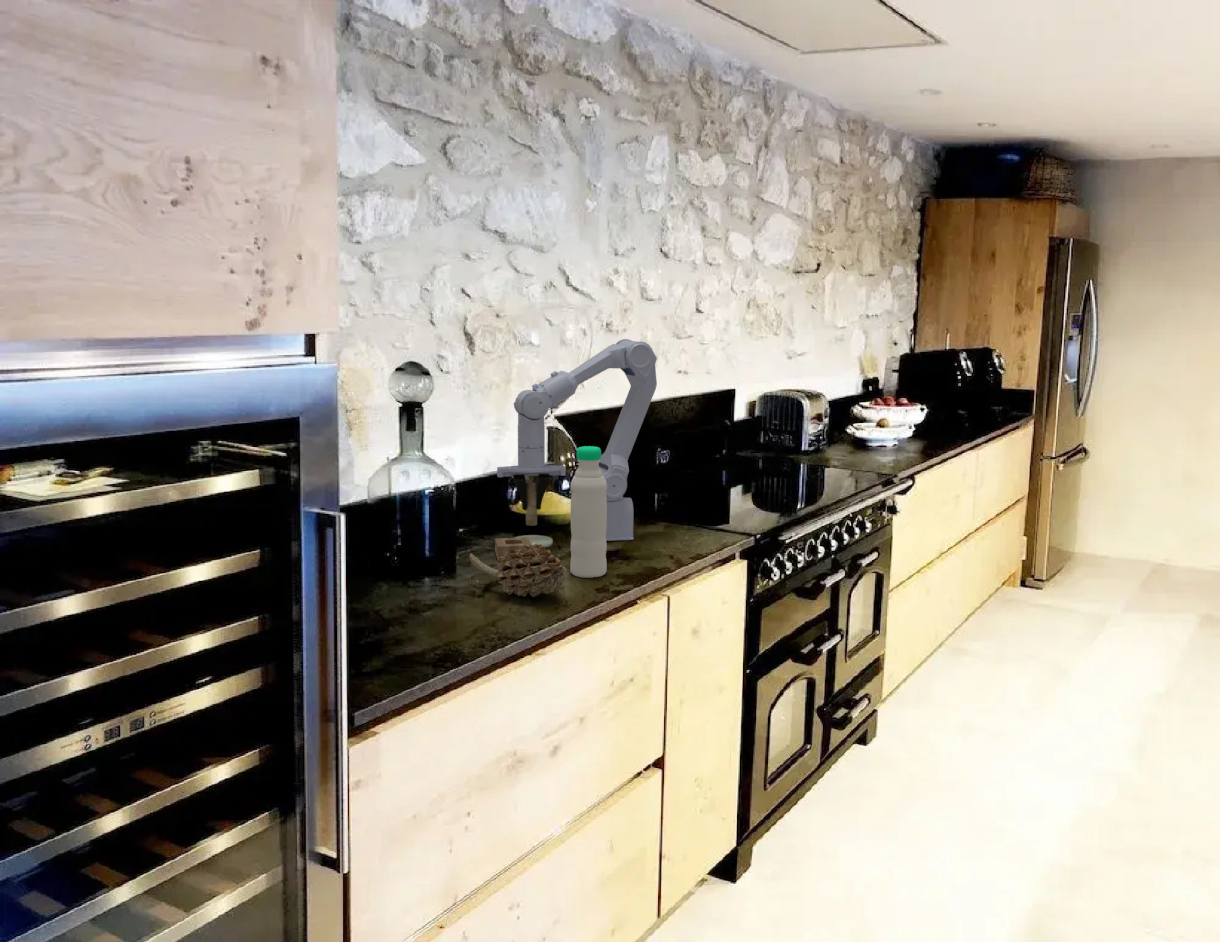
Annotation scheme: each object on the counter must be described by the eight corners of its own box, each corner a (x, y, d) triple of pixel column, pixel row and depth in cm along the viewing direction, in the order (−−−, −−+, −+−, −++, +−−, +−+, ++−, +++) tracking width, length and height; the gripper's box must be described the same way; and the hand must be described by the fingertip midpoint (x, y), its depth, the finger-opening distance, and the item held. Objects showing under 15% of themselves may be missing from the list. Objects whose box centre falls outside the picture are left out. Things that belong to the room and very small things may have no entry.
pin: (536, 523, 236) (536, 482, 235) (537, 525, 234) (537, 484, 232) (525, 523, 236) (525, 482, 234) (526, 525, 234) (526, 484, 232)
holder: (528, 551, 229) (528, 537, 229) (532, 559, 222) (532, 545, 222) (495, 552, 228) (495, 538, 227) (498, 561, 221) (497, 546, 220)
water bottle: (602, 579, 208) (603, 450, 204) (566, 577, 209) (566, 449, 205) (609, 570, 215) (610, 445, 210) (575, 568, 216) (575, 443, 212)
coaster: (549, 537, 241) (549, 534, 241) (555, 547, 232) (555, 544, 232) (509, 539, 239) (509, 535, 239) (513, 549, 230) (513, 545, 230)
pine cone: (577, 596, 197) (577, 543, 195) (549, 609, 189) (548, 554, 187) (478, 579, 208) (478, 528, 206) (447, 591, 200) (446, 538, 198)
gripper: (562, 443, 237) (562, 504, 240) (495, 444, 234) (496, 506, 237) (567, 448, 230) (566, 510, 233) (498, 449, 228) (499, 512, 230)
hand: (531, 508), depth 234 cm, fingers closed on pin, 2 cm apart
